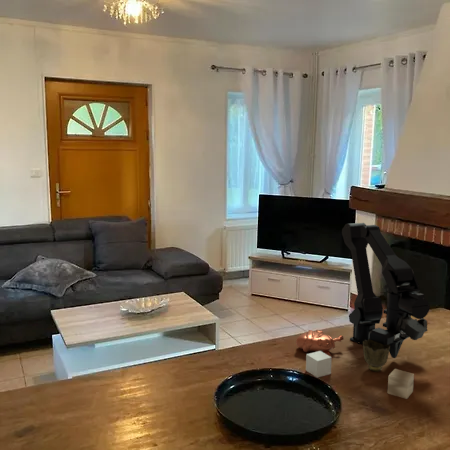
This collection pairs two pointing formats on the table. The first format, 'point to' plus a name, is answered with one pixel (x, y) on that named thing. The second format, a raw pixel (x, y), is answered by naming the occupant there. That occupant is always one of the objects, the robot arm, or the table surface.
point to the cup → (375, 354)
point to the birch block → (400, 383)
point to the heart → (317, 341)
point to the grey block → (318, 364)
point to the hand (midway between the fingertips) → (393, 357)
